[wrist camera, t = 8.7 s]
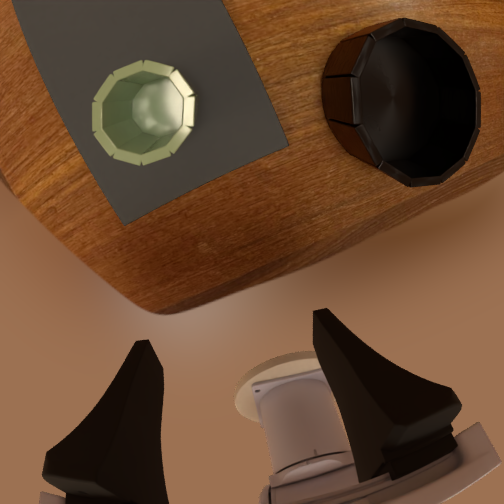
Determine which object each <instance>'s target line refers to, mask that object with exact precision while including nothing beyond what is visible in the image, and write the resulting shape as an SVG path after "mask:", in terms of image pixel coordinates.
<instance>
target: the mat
mask: <svg viewBox="0 0 504 504" xmlns="http://www.w3.org/2000/svg"><path fill="white" fill-rule="evenodd" d="M12 3H13V6H14V9H15V12H16V15H17V18H18V20H19V23H20V26H21V29H22V31H23V34H24V36H25V39H26V41H27V44H28V46H29V49H30V51H31V54H32V56H33V58H34V61H35V63H36V65H37V68H38V70H39V72H40V74H41V77H42V79H43V81H44V83H45V85H46V88H47V90H48V92H49V94H50V96H51V98H52V100H53V102H54V104H55V106H56V108H57V110H58V112H59V114H60V116H61V118H62V120H63V122H64V124H65V126H66V128H67V130H68V132H69V133H70V135H71V137H72V139H73V141H74V143H75V145H76V146H77V148H78V150H79V152H80V154H81V155H82V157H83V159H84V161H85V163H86V164H87V166H88V168H89V169H90V171H91V173H92V175H93V176H94V178H95V180H96V181H97V183H98V185H99V186H100V188H101V190H102V191H103V193H104V195H105V196H106V198H107V200H108V201H109V203H110V204H111V206H112V208H113V209H114V211H115V212H116V214H117V216H118V217H119V219H120V220H121V222H122V223H123V225H124V226H126V225H127V224H129V223H131V222H133V221H135V220H136V219H138V218H140V217H142V216H144V215H145V214H147V213H149V212H151V211H153V210H155V209H157V208H158V207H160V206H162V205H164V204H166V203H168V202H170V201H172V200H174V199H176V198H178V197H180V196H181V195H183V194H185V193H187V192H189V191H191V190H193V189H195V188H197V187H199V186H201V185H203V184H206V183H208V182H210V181H212V180H214V179H216V178H218V177H220V176H222V175H224V174H226V173H229V172H231V171H233V170H235V169H237V168H239V167H241V166H244V165H246V164H248V163H250V162H253V161H255V160H257V159H259V158H262V157H264V156H266V155H268V154H271V153H273V152H275V151H278V150H280V149H282V148H285V147H287V146H289V144H288V141H287V139H286V136H285V134H284V131H283V129H282V127H281V124H280V122H279V120H278V117H277V115H276V113H275V110H274V108H273V106H272V103H271V101H270V99H269V96H268V94H267V92H266V90H265V88H264V85H263V83H262V81H261V79H260V77H259V74H258V72H257V70H256V68H255V66H254V64H253V62H252V60H251V57H250V55H249V53H248V51H247V49H246V47H245V45H244V43H243V41H242V39H241V37H240V35H239V33H238V31H237V29H236V27H235V25H234V23H233V21H232V19H231V17H230V15H229V14H228V12H227V10H226V8H225V6H224V4H223V2H222V0H12ZM140 60H143V61H145V60H150V61H154V62H158V63H162V64H166V65H170V66H173V67H175V68H176V69H178V70H179V71H180V72H181V73H182V74H183V75H185V76H186V77H187V78H188V80H189V81H190V83H191V84H192V85H193V87H194V88H195V90H196V91H197V92H198V96H199V112H198V118H197V121H196V123H195V126H194V128H193V130H192V132H191V133H190V134H189V135H188V137H187V138H186V139H185V141H184V142H183V143H182V144H181V146H180V147H179V148H178V150H177V151H176V152H175V153H174V154H173V153H172V155H171V156H170V157H167V158H164V159H161V160H159V161H156V162H153V163H150V164H147V165H143V164H141V165H140V166H138V165H135V164H131V163H128V162H124V161H120V160H117V159H114V158H113V155H112V156H109V154H108V153H107V152H106V151H105V149H104V148H103V147H102V145H101V144H100V143H99V141H98V140H97V139H96V137H95V136H94V133H95V132H96V131H92V102H96V101H95V100H94V97H95V95H96V94H97V92H98V91H99V89H100V88H101V86H102V85H103V83H104V82H105V80H106V79H107V78H108V76H109V75H110V74H113V71H115V70H117V69H120V68H122V67H124V66H127V65H129V64H132V63H134V62H137V61H140Z"/></svg>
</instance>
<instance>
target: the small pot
mask: <svg viewBox="0 0 504 504" xmlns="http://www.w3.org/2000/svg"><path fill="white" fill-rule="evenodd" d="M94 100H95V101H96V102H92V131H96V132H95V133H94V136H95V137H96V139H97V140H98V141H99V143H100V144H101V145H102V147H103V148H104V149H105V151H106V152H107V153H108V154H109V156H112V155H113V158H114V159H117V160H120V161H124V162H128V163H131V164H135V165H138V166H140V165H141V164H143V165H147V164H150V163H153V162H156V161H159V160H161V159H164V158H167V157H170V156H171V155H172V153H173V154H174V153H175V152H176V151H177V150H178V148H179V147H180V146H181V144H182V143H183V142H184V141H185V139H186V138H187V137H188V135H189V134H190V133H191V132H192V130H193V128H194V126H195V123H196V121H197V118H198V112H199V96H198V92H197V91H196V90H195V88H194V87H193V85H192V84H191V83H190V81H189V80H188V78H187V77H186V76H185V75H183V74H182V73H181V72H180V71H179V70H178V69H176V68H175V67H173V66H170V65H166V64H162V63H158V62H154V61H150V60H145V61H143V60H140V61H137V62H134V63H132V64H129V65H127V66H124V67H122V68H120V69H117V70H115V71H113V74H110V75H109V76H108V78H107V79H106V80H105V82H104V83H103V85H102V86H101V88H100V89H99V91H98V92H97V94H96V95H95V97H94Z"/></svg>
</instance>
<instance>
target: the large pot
mask: <svg viewBox="0 0 504 504" xmlns="http://www.w3.org/2000/svg"><path fill="white" fill-rule="evenodd" d="M464 54H465V52H464V51H463V50H462V49H461V48H460V47H459V46H458V45H457V44H456V43H455V42H454V41H453V40H452V39H451V38H450V37H449V36H448V35H447V34H446V33H445V32H444V31H443V30H442V29H441V28H439V27H437V26H436V25H432V24H428V23H424V22H420V21H416V20H412V19H408V18H398V19H394V20H390V21H386V22H383V23H379V24H376V25H372V26H369V27H366V28H364V29H363V30H361V31H359V32H356V33H354V34H352V35H350V36H348V37H347V38H345V39H344V40H342V41H341V43H340V44H338V45H337V47H336V48H335V49H334V51H333V52H332V54H331V55H330V57H329V59H328V61H327V64H326V66H325V69H324V73H323V78H322V102H323V108H324V112H325V116H326V119H327V121H328V124H329V126H330V128H331V130H332V132H333V133H334V135H335V137H336V138H337V139H338V141H339V142H340V144H341V145H342V146H343V147H344V148H345V149H346V151H347V152H349V154H350V155H352V156H354V157H356V158H357V159H359V160H361V161H363V162H365V163H367V164H368V165H370V166H372V167H374V168H375V169H377V170H379V171H381V172H383V173H384V174H386V175H388V176H390V177H392V178H393V179H395V180H397V181H399V182H400V183H402V184H404V185H405V186H407V187H408V186H409V187H419V186H429V185H438V184H440V183H443V182H444V181H446V180H447V179H448V178H449V177H450V176H452V175H453V174H454V173H455V172H456V171H458V170H459V169H460V168H461V167H462V166H463V165H465V161H468V158H469V156H470V154H471V152H472V149H473V147H474V144H475V142H476V140H477V137H478V135H479V132H480V130H479V129H478V128H480V127H481V92H479V91H478V90H480V87H479V85H478V82H477V79H476V77H475V74H474V72H473V69H472V67H471V64H470V62H469V59H468V57H467V55H464Z"/></svg>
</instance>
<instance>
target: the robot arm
mask: <svg viewBox="0 0 504 504" xmlns="http://www.w3.org/2000/svg"><path fill="white" fill-rule="evenodd" d="M313 345H314V348H315V352H316V355H317V358H318V362H319V364H320V366H321V368H320V369H316V370H312V371H308V372H303V373H299V374H295V375H290V376H285V377H281V378H276V379H271V380H266V381H261V382H255V383H253V384H252V385H251V388H252V392H253V396H254V401H255V405H256V409H257V413H258V417H259V421H260V425H261V427H262V428H264V430H265V434H266V439H267V444H268V449H269V454H270V459H271V464H272V469H273V473H274V475H271V476H269V480H270V485H266V486H265V487H264V488H263V491H262V492H261V494H260V496H259V504H441V503H443V502H445V501H447V500H448V499H450V498H452V497H453V496H455V495H457V494H458V493H460V492H462V491H463V490H465V489H466V488H468V487H469V486H471V485H472V484H474V483H475V482H477V481H478V480H479V479H481V478H482V477H484V476H485V475H487V474H488V473H489V472H491V471H492V470H493V469H495V468H496V467H497V466H499V465H500V464H501V460H500V458H499V456H498V454H497V452H496V450H495V448H494V447H493V445H492V443H491V441H490V439H489V438H488V436H487V434H486V432H485V431H484V429H483V427H482V425H481V424H480V422H477V423H475V424H474V425H472V426H471V427H469V428H467V429H466V430H464V431H462V432H461V433H459V434H458V435H456V436H455V437H453V435H452V433H451V432H453V427H452V425H451V422H452V421H453V420H454V418H455V417H456V416H457V415H458V413H459V412H460V410H461V407H462V404H461V402H460V400H459V399H458V397H457V395H456V394H455V393H454V391H453V390H452V389H451V388H450V387H447V386H443V385H440V384H437V383H434V382H431V381H429V380H426V379H424V378H421V377H419V376H417V375H414V374H412V373H411V372H409V371H407V370H405V369H403V368H401V367H399V366H397V365H396V364H394V363H392V362H391V361H389V360H388V359H386V358H384V357H383V356H381V355H380V354H379V353H377V352H376V351H374V350H373V349H372V348H371V347H369V346H368V345H366V344H365V343H364V342H363V341H362V340H361V339H359V338H358V337H357V336H356V335H355V334H353V333H352V332H351V331H350V330H349V329H348V328H347V327H346V326H345V325H344V324H343V323H342V322H341V321H339V319H338V318H337V317H336V316H335V315H334V314H333V313H331V311H330V310H329V309H327V308H324V309H320V310H315V311H313ZM163 375H164V374H163V367H162V365H161V363H160V361H159V360H158V357H157V355H156V354H155V351H154V350H153V347H152V345H151V344H150V341H149V340H140V341H136V342H135V343H134V345H133V347H132V348H131V350H130V352H129V354H128V356H127V357H126V359H125V361H124V363H123V365H122V366H121V368H120V369H119V371H118V373H117V375H116V376H115V378H114V380H113V381H112V383H111V384H110V386H109V387H108V389H107V390H106V392H105V394H104V395H103V396H102V398H101V399H100V401H99V402H98V403H97V404H96V406H95V407H94V408H93V410H92V411H91V412H90V413H89V414H88V416H86V418H85V419H84V420H83V421H82V422H81V423H80V424H79V425H78V426H77V427H76V428H75V429H74V430H73V431H72V432H71V433H70V434H69V435H68V436H66V438H64V439H63V440H62V441H61V442H59V443H58V444H57V445H55V446H54V447H53V448H51V449H50V450H49V451H47V453H46V456H45V462H44V467H43V472H42V477H43V478H44V479H45V480H46V481H47V482H48V483H50V484H51V485H53V486H55V487H56V488H58V489H60V490H62V491H64V492H65V493H66V498H64V497H61V496H58V495H54V494H50V493H46V492H40V500H39V504H169V501H168V497H167V491H166V486H165V479H164V472H163V464H162V452H161V420H162V407H163V395H164V376H163ZM331 391H332V393H333V395H334V397H335V400H336V402H337V404H338V407H339V409H340V413H341V416H342V419H343V422H344V425H345V429H346V432H347V436H348V439H349V442H350V445H349V442H348V440H347V437H346V434H345V432H344V429H343V426H342V424H341V421H340V419H339V416H338V413H337V410H336V408H335V405H334V402H333V400H332V397H331ZM350 447H351V448H350Z"/></svg>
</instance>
